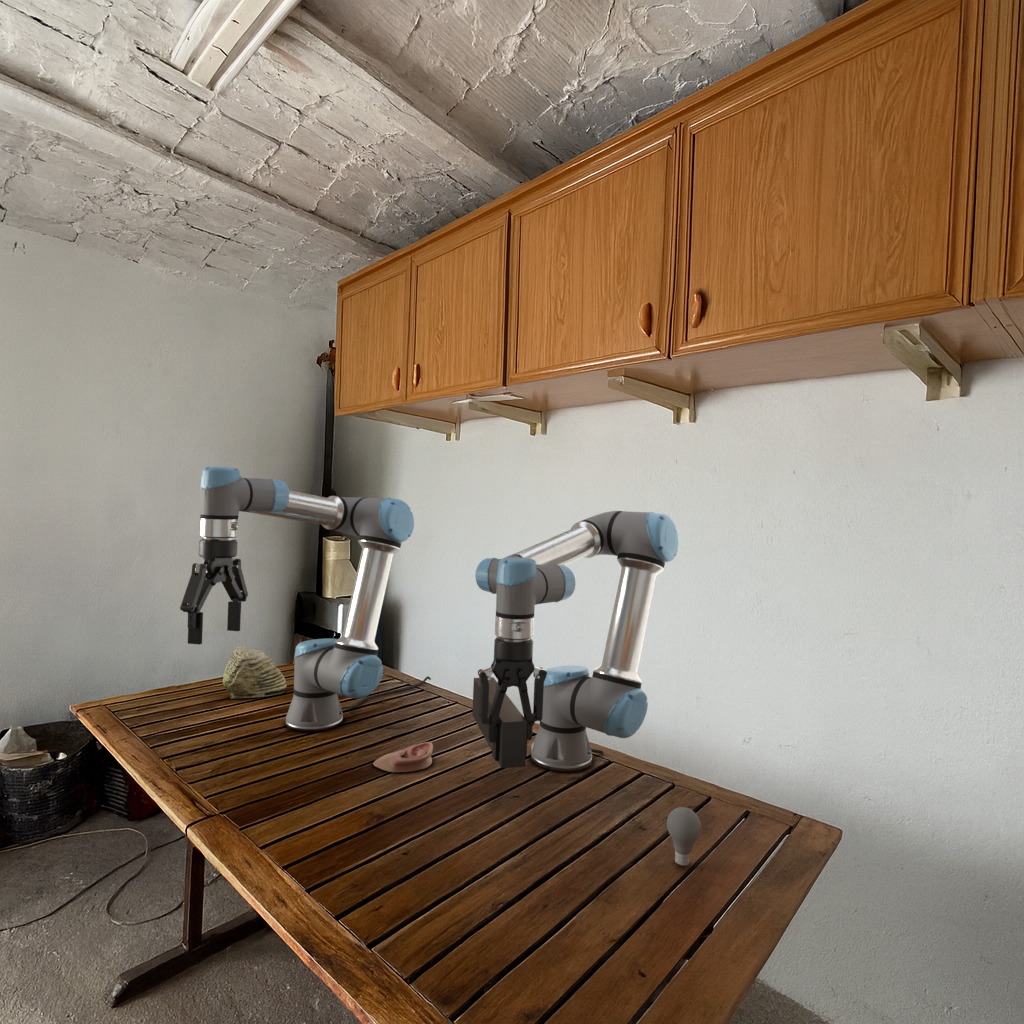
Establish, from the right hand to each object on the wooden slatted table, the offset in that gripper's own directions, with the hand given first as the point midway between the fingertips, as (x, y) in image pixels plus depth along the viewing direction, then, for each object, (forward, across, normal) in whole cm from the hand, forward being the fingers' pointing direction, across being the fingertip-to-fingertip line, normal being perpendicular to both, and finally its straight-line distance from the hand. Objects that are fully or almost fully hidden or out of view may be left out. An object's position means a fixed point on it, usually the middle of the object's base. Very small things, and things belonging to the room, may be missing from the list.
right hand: (509, 756), depth 123 cm
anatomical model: (+15, -17, +34) cm, 41 cm away
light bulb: (+15, +29, -17) cm, 36 cm away
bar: (+1, 0, +11) cm, 11 cm away
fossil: (+15, -59, +92) cm, 110 cm away
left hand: (-18, -59, +29) cm, 68 cm away
